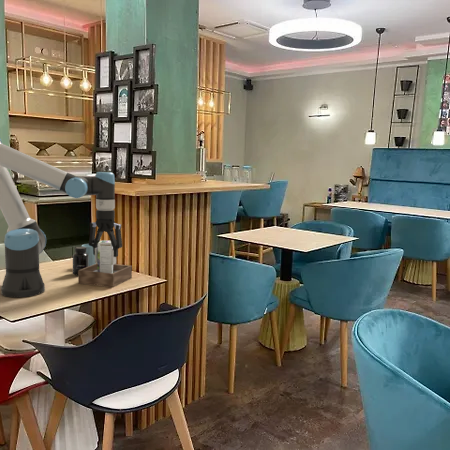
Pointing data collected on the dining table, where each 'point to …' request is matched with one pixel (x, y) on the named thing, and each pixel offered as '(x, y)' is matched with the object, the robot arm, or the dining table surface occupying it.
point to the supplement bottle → (80, 259)
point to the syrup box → (105, 257)
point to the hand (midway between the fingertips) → (105, 263)
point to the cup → (90, 254)
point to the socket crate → (104, 275)
